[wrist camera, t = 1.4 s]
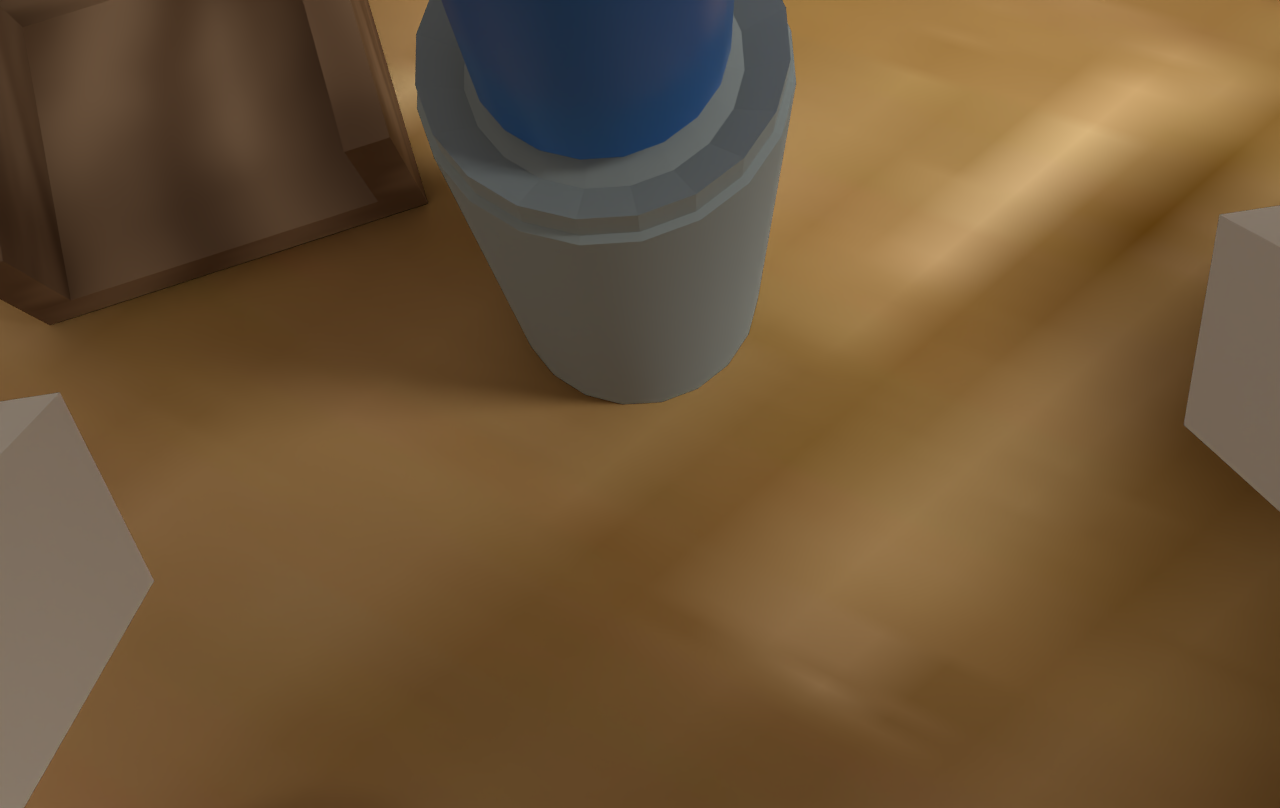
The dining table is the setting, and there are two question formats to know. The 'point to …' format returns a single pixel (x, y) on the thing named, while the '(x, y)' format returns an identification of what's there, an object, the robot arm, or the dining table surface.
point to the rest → (185, 141)
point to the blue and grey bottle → (615, 172)
